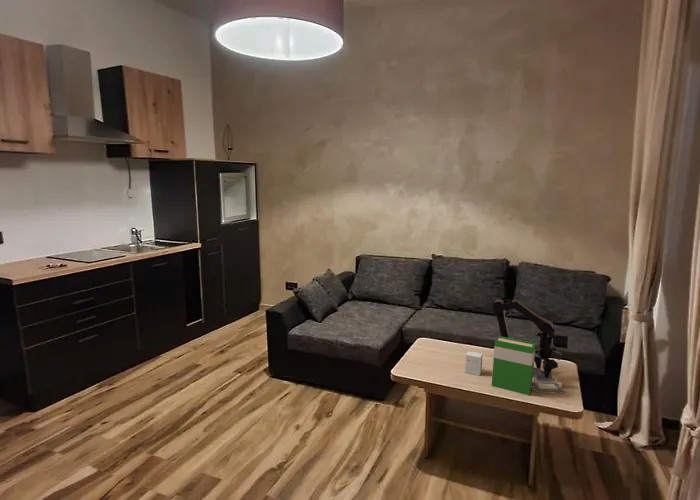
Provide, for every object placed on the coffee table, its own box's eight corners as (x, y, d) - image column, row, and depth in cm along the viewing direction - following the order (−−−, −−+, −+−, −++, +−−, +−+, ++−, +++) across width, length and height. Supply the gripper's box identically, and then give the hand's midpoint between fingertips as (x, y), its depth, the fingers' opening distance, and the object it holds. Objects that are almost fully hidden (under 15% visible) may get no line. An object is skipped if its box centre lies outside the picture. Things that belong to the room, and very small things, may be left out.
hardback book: (491, 385, 218) (494, 340, 214) (495, 380, 224) (498, 335, 220) (528, 395, 209) (533, 347, 205) (531, 389, 215) (535, 343, 211)
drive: (536, 381, 224) (537, 371, 223) (532, 377, 229) (533, 367, 228) (552, 381, 224) (553, 371, 223) (548, 377, 229) (549, 367, 228)
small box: (481, 372, 234) (483, 353, 232) (480, 376, 229) (481, 357, 227) (466, 369, 237) (467, 350, 235) (464, 373, 232) (465, 354, 230)
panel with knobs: (538, 392, 212) (538, 384, 211) (530, 383, 221) (530, 376, 220) (564, 392, 212) (565, 385, 212) (555, 384, 221) (556, 376, 220)
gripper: (569, 352, 214) (566, 382, 217) (552, 338, 233) (549, 366, 235) (547, 352, 214) (544, 381, 217) (531, 338, 233) (529, 365, 235)
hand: (542, 373), depth 226 cm, fingers open, 9 cm apart
